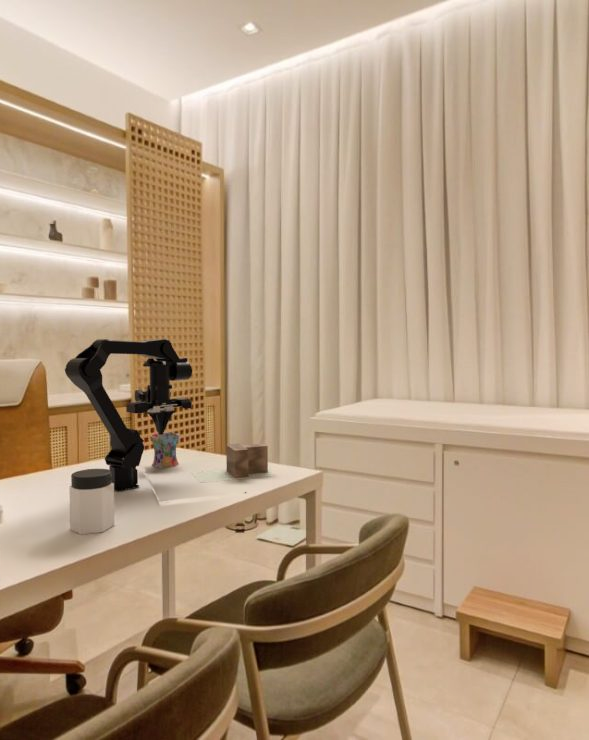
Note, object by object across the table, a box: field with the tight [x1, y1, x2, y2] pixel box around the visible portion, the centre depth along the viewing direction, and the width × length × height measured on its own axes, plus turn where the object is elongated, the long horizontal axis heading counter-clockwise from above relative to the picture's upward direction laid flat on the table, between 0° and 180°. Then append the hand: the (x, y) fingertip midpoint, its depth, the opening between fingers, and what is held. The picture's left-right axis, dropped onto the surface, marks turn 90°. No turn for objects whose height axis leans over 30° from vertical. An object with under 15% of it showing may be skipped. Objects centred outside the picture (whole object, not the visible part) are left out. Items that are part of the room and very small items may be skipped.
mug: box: [149, 432, 180, 469], centre depth 174 cm, size 12×9×11 cm
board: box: [191, 468, 276, 484], centre depth 160 cm, size 22×13×1 cm, turn 111°
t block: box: [225, 443, 269, 479], centre depth 161 cm, size 11×10×8 cm
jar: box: [68, 468, 116, 535], centre depth 116 cm, size 9×8×12 cm
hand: (160, 434), depth 158 cm, fingers closed
